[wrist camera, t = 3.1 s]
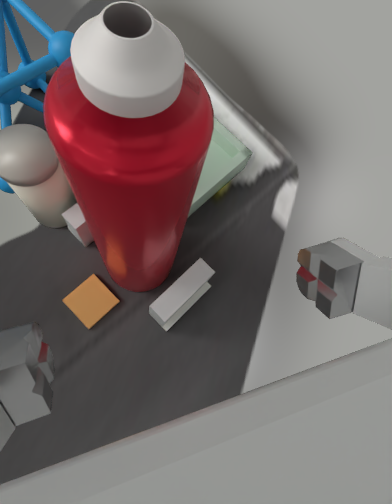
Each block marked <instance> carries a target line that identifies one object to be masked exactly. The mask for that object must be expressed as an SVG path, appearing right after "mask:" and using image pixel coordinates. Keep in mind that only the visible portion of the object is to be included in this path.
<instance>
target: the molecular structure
mask: <svg viewBox="0 0 392 504" xmlns="http://www.w3.org/2000/svg"><path fill="white" fill-rule="evenodd" d="M9 3H10V4H11V5H12V6H13V7H14V8H15V9H16V10H17V11H18V12H19V13H20V14H21V15H22V16H23V17H24V18H25V19H26V20H27V21H28V22H29V23H30V24H31V25H32V26H33V27H34V28H35V29H36V30H38V31H39V32H40V33H41V34H42V35H43V36H44V37H45V38H46V39H47V40H48V41H49V44H48V51H49V54H48V55H46V56H44V57H42V58H40V59H38V60H36V61H33V60H31V59H30V56H29V53H28V51H27V48H26V46H25V43H24V40H23V38H22V35H21V33H20V30H19V27H18V25H17V22H16V20H15V17H14V15H13V12H12V9H11V7H10V4H9ZM4 19H5V21H6V24H7V26H8V28H9V31H10V33H11V35H12V38H13V40H14V43H15V45H16V47H17V50H18V52H19V54H20V57H21V59H22V62H21V63H20V65H19V67H18V70H17V71H15V72H13V73H11V74H10V73H8V68H7V55H6V42H5V28H4ZM74 35H75V34H73V33H72V32H69V31H58V32H56V33H55V32H54V31H53V30H52V29H51V28H50V27H49V26H48V25H47V24H46V23H45V22H44V21H43V20H42V19H41V18H40V17H39V16H38V15H37V14H36V13H35V12H34V11H32V9H30V7H28V6H27V5H26V4H25V3H24V2H23V1H22V0H0V119H1V129H3V128H5V127H8V126H11V125H12V120H11V107H10V105H12V104H15V103H16V102H17V101H20V102H22V103H24V104H26V105H28V106H30V107H32V108H34V109H36V110H38V111H40V112H42V113H43V102H41V101H39V100H37V99H35V98H33V97H31V96H29V95H27V94H25V93H23V92H21V87H20V86H22V85H26V86H28V87H29V88H33V89H37V88H41V89H42V90H43V91H44V92H46V88H47V86H48V84H47V83H46V73H45V72H46V71H48V70H50V69H52V68H54V67H55V66H57V67H59V66H60V65H61V64H62V62H64V61H65V60H66V59H67V58H69V57H70V56H71V52H70V48H71V42H72V39H73V37H74ZM0 189H1V190H2V191H4V192H7V193H15V192H14V190H13V189H12V188H11V187H10V185H9V184H8V183H7V182H6V181H5V180H3V179H2V178H1V177H0Z"/></svg>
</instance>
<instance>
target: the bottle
mask: <svg viewBox="0 0 392 504" xmlns="http://www.w3.org/2000/svg"><path fill="white" fill-rule="evenodd" d="M70 52H71V56H70V57H69V58H67V59H66V60H65V61H64V62H62V64H61V65H60V66H59V67H58V69H57V70H56V71H55V72H54V74H53V75H52V78H51V80H50V82H49V84H48V86H47V88H46V92H45V98H44V103H43V114H44V124H45V127H46V130H47V133H48V137H49V140H50V142H51V144H52V146H53V149H54V151H55V153H56V155H57V158H58V160H59V162H60V164H61V167H62V169H63V171H64V173H65V176H66V178H67V180H68V182H69V185H70V187H71V189H72V191H73V194H74V196H75V198H76V200H77V203H78V205H79V207H80V209H81V212H82V214H83V216H84V219H85V221H86V223H87V225H88V228H89V230H90V232H91V234H92V237H93V239H94V241H95V243H96V246H97V248H98V250H99V252H100V255H101V257H102V259H103V261H104V264H105V266H106V268H107V270H108V273H109V274H110V276H111V278H112V279H113V280H114V281H115V282H116V283H117V284H118V285H119V286H121V287H122V288H125V289H127V290H130V291H134V292H143V291H148V290H151V289H154V288H156V287H157V286H159V285H160V284H161V283H163V282H164V281H165V279H166V278H167V277H168V275H169V273H170V271H171V268H172V265H173V262H174V259H175V256H176V252H177V249H178V246H179V243H180V239H181V236H182V233H183V230H184V227H185V223H186V220H187V217H188V214H189V210H190V207H191V204H192V201H193V198H194V194H195V191H196V188H197V185H198V181H199V178H200V175H201V172H202V169H203V165H204V162H205V159H206V156H207V152H208V149H209V146H210V143H211V138H212V134H213V130H214V112H213V108H212V104H211V100H210V96H209V94H208V92H207V90H206V88H205V86H204V84H203V82H202V81H201V79H200V78H199V77H198V75H197V74H196V73H195V71H194V70H193V69H192V68H191V67H190V66H189V65H188V64H186V63H185V56H184V51H183V48H182V46H181V44H180V42H179V40H178V38H177V37H176V36H175V34H174V33H173V32H172V31H171V30H170V29H169V28H168V27H167V26H165V25H164V24H162V23H161V22H159V21H158V20H156V19H154V17H153V16H152V15H151V13H150V12H149V11H148V10H147V9H146V8H144V7H142V6H141V5H139V4H136V3H133V2H127V1H120V2H115V3H112V4H110V5H108V6H106V7H105V8H104V9H103V10H102V12H101V13H100V14H99V15H97V16H95V17H93V18H91V19H89V20H88V21H86V22H85V23H84V24H82V25H81V26H80V28H79V29H78V30H77V31H76V32H75V35H74V37H73V39H72V42H71V48H70Z"/></svg>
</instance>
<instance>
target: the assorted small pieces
mask: <svg viewBox="0 0 392 504" xmlns="http://www.w3.org/2000/svg"><path fill="white" fill-rule="evenodd" d="M251 155H252V152H251V151H250V150H249V149H248V148H247V147H246V146H245V145H244V144H243V143H241V142H240V141H239V140H238V139H237V138H236V137H235V136H234V135H233V134H232V133H231V132H229V131H228V130H227V129H226V128H225V127H224V126H223V125H222V124H221V123H220V122H218V121H217V120H216V119H215V118H214V130H213V134H212V138H211V143H210V146H209V149H208V152H207V156H206V159H205V162H204V165H203V169H202V172H201V175H200V178H199V181H198V185H197V188H196V191H195V194H194V198H193V201H192V204H191V207H190V210H189V214H188V217H189V216H190V215H191V214H192V213H194V212H195V211H196V210H197V209H198V208H199V207H200V206H202V205H203V204H204V203H205V202H206V201H207V200H208V199H210V198H211V197H212V196H213V195H214V194H215V193H216V192H218V191H219V190H220V189H221V188H222V187H223V186H224V185H226V184H227V183H228V182H229V181H230V180H231V179H232V178H234V177H235V176H236V175H237V174H238V173H239V172H240V171H242V170H243V169H244V168H245V166H246V164H247V162H248V160H249V158H250V156H251ZM0 177H1V178H2V179H3V180H5V181H6V182H7V183H8V184H9V185H10V187H11V188H12V189H13V190H14V192H15V193H16V194H17V195H18V197H19V198H20V199H21V200H22V202H23V203H24V204H25V205H26V207H27V208H28V209H29V210H30V212H31V213H32V214H33V215H34V217H35V218H36V219H37V220H38V222H40V223H41V224H42V225H44V226H46V227H50V228H61V227H64V226H66V225H68V226H67V227H68V229H69V231H70V232H71V233H72V234H73V235H74V236H75V237H76V238H77V239H78V240H79V241H80V242H81V243H82V244H83V245H84V246H85V247H87V246H88V245H89V244H90V243H92V242H93V241H94V239H93V237H92V234H91V232H90V230H89V228H88V225H87V223H86V221H85V219H84V216H83V214H82V212H81V209H80V207H79V205H78V203H77V200H76V198H75V196H74V194H73V191H72V189H71V187H70V185H69V182H68V180H67V178H66V176H65V173H64V171H63V169H62V167H61V164H60V162H59V160H58V158H57V155H56V153H55V151H54V149H53V146H52V144H51V142H50V140H49V137H48V133H47V132H46V131H45V130H43V129H41V128H39V127H37V126H34V125H30V124H15V125H11V126H8V127H5V128H3V129H1V130H0ZM188 217H187V218H188ZM214 273H215V271H214V270H213V269H212V268H211V267H210V266H209V265H208V264H207V263H206V262H205V261H204V260H202V259H201V258H199V259H198V260H197V261H196V262H195V263H194V264H193V265H192V266H191V267H190V268H189V269H188V270H187V271H186V272H185V273H184V274H183V275H182V276H181V277H180V278H178V279H177V280H176V281H175V282H174V283H173V284H172V285H171V286H170V287H169V288H168V289H167V290H166V291H165V292H164V293H163V294H162V295H161V296H160V297H158V298H157V299H156V300H155V301H154V302H153V303H152V304H151V305H150V306H149V314H150V315H151V316H152V317H153V318H154V319H155V320H156V321H157V322H158V323H159V325H160V326H161V327H162V328H163V329H164V330H165V331H166V332H167V331H168V330H169V329H170V328H171V327H172V326H173V324H174V323H175V322H176V321H177V320H178V319H179V318H180V317H181V316H182V315H183V314H184V313H185V312H186V311H187V310H188V309H189V308H190V307H191V306H192V305H193V304H194V303H195V302H196V301H197V300H198V299H199V298H200V297H201V296H202V295H203V294H204V293H205V292H206V291H207V290H208V289H209V288H210V287H211V285H210V284H209V283H208V282H207V281H208V280H209V279H210V278H211V277H212V275H213V274H214ZM62 301H63V302H64V303H65V304H66V305H67V306H68V307H69V308H70V309H71V310H72V312H73V313H74V314H75V315H76V316H77V317H78V318H79V319H80V320H81V321H82V322H83V324H84V325H85V326H86V327H87V328H88V329H90V328H91V327H93V326H94V325H95V324H96V323H97V322H98V321H99V320H100V319H101V318H102V317H104V316H105V315H106V314H107V313H108V312H109V311H110V310H111V309H112V308H113V307H115V306H116V305H117V304H118V303H119V302H120V301H119V300H118V299H117V298H116V297H115V296H114V295H113V294H112V293H111V292H110V291H109V289H108V288H107V287H106V286H105V285H104V284H103V283H102V282H101V281H100V280H99V279H98V278H97V277H96V276H95V275H94V274H93V275H91V276H90V277H89V278H88V279H87V280H86V281H84V282H83V283H82V284H81V285H80V286H78V287H77V288H76V289H75V290H74V291H72V292H71V293H70V294H69V295H68V296H66V297H65V298H64V299H63V300H62Z"/></svg>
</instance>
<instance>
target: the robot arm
mask: <svg viewBox="0 0 392 504" xmlns="http://www.w3.org/2000/svg"><path fill="white" fill-rule="evenodd" d="M298 262H299V264H300V265H301V267H300V268H299V270H298V272H297V284H298V287H299V290H300V291H301V293H302V294H303V295H304V296H305V297H306V298H307V299H310V300H313V301H316V307H317V308H318V309H319V310H320V311H321V312H322V313H323V314H325V315H326V316H327V317H328V318H329V319H331V318H335V317H338V316H341V315H344V314H348V313H351V312H353V314H356V315H358V316H361V317H363V318H365V319H368V320H370V321H373V322H375V323H377V324H380V325H382V326H385V327H387V328H390V329H392V258H389V257H380V258H379V257H377V256H376V255H374V254H372V253H370V252H368V251H366V250H365V249H363V248H361V247H359V246H357V245H356V244H354V243H352V242H350V241H348V240H347V239H345V238H337V239H334V240H331V241H328V242H325V243H322V244H318V245H315V246H312V247H308V248H305V249H301V250H300V251H299V253H298ZM42 335H43V332H42V330H41V328H40V326H39V324H38V323H37V322H31V323H27V324H23V325H19V326H15V327H11V328H7V329H3V330H0V451H1V450H2V448H3V447H4V445H5V444H6V442H7V441H8V439H9V438H10V436H11V435H12V433H13V431H14V430H15V426H18V425H20V424H23V423H26V422H29V421H31V420H34V419H37V418H39V417H42V416H45V415H48V414H50V413H51V408H52V397H53V391H52V389H51V386H50V383H51V382H52V380H53V379H54V372H55V368H54V360H53V356H52V353H51V350H50V348H49V345H48V344H46V343H44V342H42ZM0 504H392V338H391V339H388V340H385V341H383V342H380V343H377V344H375V345H372V346H369V347H367V348H364V349H361V350H359V351H356V352H353V353H350V354H348V355H345V356H343V357H340V358H337V359H334V360H332V361H329V362H326V363H324V364H321V365H318V366H316V367H313V368H310V369H307V370H305V371H302V372H299V373H297V374H294V375H291V376H289V377H286V378H283V379H281V380H278V381H275V382H273V383H270V384H267V385H265V386H262V387H259V388H257V389H254V390H251V391H249V392H246V393H243V394H241V395H238V396H235V397H233V398H230V399H227V400H225V401H222V402H219V403H217V404H214V405H211V406H209V407H206V408H203V409H201V410H198V411H195V412H193V413H190V414H187V415H185V416H182V417H179V418H177V419H174V420H171V421H169V422H166V423H163V424H161V425H158V426H155V427H153V428H150V429H147V430H145V431H142V432H139V433H137V434H134V435H131V436H129V437H126V438H123V439H120V440H118V441H115V442H112V443H110V444H107V445H104V446H102V447H99V448H96V449H94V450H91V451H88V452H86V453H83V454H80V455H78V456H75V457H72V458H70V459H67V460H64V461H62V462H59V463H56V464H54V465H51V466H48V467H46V468H43V469H40V470H38V471H35V472H32V473H30V474H27V475H24V476H22V477H19V478H16V479H14V480H11V481H8V482H6V483H3V484H0Z"/></svg>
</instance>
